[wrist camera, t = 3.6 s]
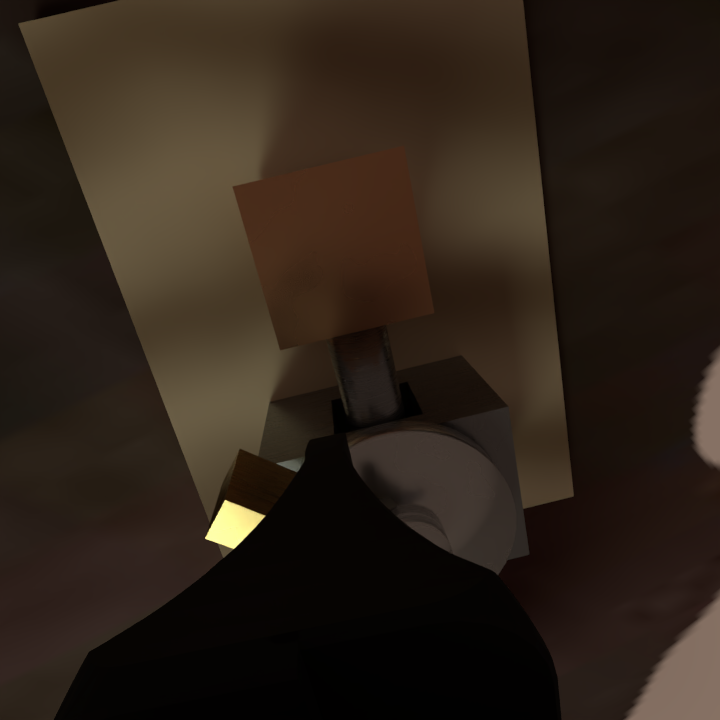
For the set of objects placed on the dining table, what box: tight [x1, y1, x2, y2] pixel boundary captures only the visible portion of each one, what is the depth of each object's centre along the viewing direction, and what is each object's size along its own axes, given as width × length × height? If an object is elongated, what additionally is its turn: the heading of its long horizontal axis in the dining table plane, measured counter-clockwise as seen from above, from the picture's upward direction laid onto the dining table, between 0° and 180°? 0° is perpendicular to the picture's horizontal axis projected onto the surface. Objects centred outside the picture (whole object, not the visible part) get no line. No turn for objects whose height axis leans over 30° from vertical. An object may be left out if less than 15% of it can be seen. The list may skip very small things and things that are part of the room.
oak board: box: [19, 0, 574, 558], centre depth 18 cm, size 20×14×1 cm
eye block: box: [258, 355, 530, 560], centre depth 17 cm, size 5×7×5 cm
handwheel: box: [205, 421, 516, 575], centre depth 13 cm, size 8×6×3 cm
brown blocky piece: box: [232, 146, 434, 432], centre depth 16 cm, size 12×4×4 cm, turn 13°
